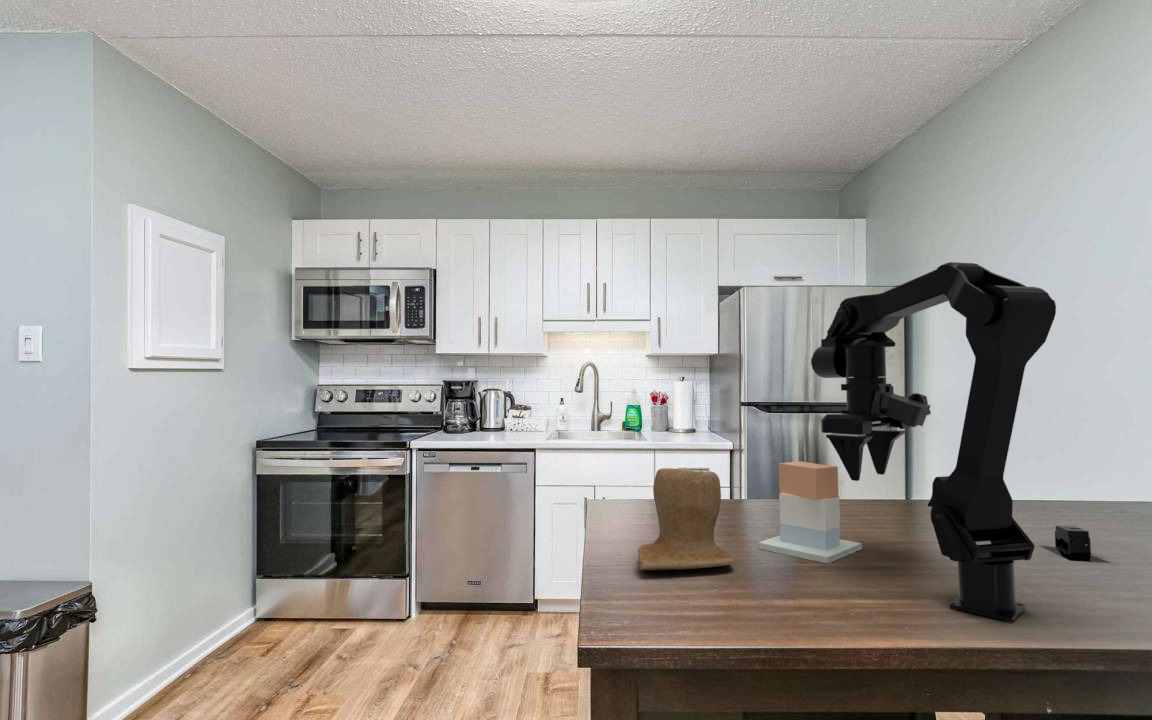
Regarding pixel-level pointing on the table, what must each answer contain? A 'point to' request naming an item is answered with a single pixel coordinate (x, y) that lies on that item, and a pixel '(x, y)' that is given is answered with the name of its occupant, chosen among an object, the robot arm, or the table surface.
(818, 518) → the ivory brick
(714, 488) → the brown upright flared piece
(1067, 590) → the table surface
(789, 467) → the terracotta brick
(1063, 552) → the black mechanical block
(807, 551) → the baseplate
